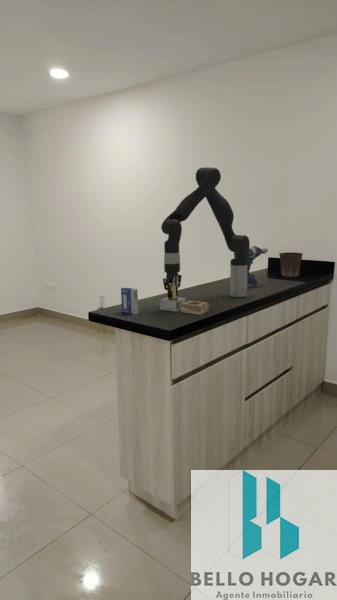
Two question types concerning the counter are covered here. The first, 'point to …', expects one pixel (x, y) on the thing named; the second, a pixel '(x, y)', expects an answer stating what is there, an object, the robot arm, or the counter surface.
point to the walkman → (129, 300)
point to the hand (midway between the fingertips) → (172, 297)
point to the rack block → (195, 307)
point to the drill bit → (173, 292)
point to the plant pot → (290, 264)
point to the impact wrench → (253, 253)
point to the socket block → (171, 304)
